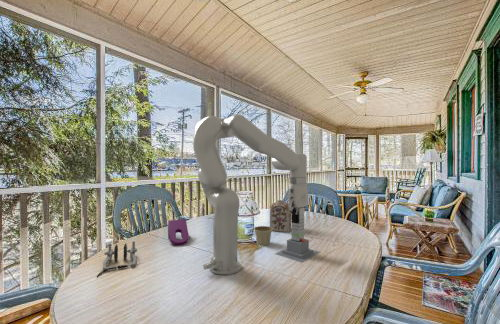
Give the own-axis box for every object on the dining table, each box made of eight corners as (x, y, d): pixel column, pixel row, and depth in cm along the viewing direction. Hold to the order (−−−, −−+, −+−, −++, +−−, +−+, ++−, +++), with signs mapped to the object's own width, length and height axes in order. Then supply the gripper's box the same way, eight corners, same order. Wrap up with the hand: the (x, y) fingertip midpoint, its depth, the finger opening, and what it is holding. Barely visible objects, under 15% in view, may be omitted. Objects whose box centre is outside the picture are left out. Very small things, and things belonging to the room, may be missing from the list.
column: (299, 241, 112) (299, 208, 112) (291, 239, 115) (291, 207, 115) (304, 239, 115) (304, 207, 115) (296, 237, 118) (296, 206, 118)
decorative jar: (269, 231, 155) (269, 201, 155) (273, 226, 166) (273, 198, 166) (289, 232, 152) (289, 202, 152) (291, 227, 163) (291, 199, 163)
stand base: (302, 265, 105) (302, 246, 105) (274, 256, 114) (274, 239, 114) (320, 254, 117) (320, 237, 117) (294, 247, 126) (294, 231, 126)
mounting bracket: (188, 254, 133) (184, 230, 148) (189, 241, 130) (185, 219, 145) (169, 256, 130) (167, 232, 145) (170, 243, 127) (168, 220, 142)
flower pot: (250, 246, 127) (250, 229, 127) (258, 241, 135) (258, 225, 135) (267, 250, 122) (268, 231, 122) (275, 244, 131) (275, 227, 131)
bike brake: (104, 256, 112) (96, 283, 93) (104, 241, 111) (96, 266, 92) (138, 252, 117) (137, 278, 99) (138, 238, 116) (137, 261, 98)
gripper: (295, 182, 106) (295, 227, 107) (314, 180, 119) (314, 220, 119) (280, 181, 111) (280, 224, 112) (300, 179, 124) (300, 217, 124)
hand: (297, 221), depth 115 cm, fingers closed on column, 4 cm apart
